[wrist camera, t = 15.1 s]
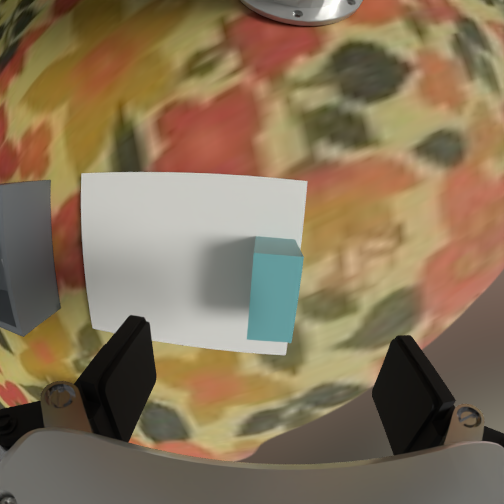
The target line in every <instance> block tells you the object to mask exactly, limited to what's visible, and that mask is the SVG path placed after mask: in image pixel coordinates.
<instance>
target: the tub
mask: <svg viewBox="0 0 504 504" xmlns="http://www.w3.org/2000/svg"><path fill="white" fill-rule="evenodd" d="M50 183H51V180H40V181H26V182H14V183H4V184H0V327H1V328H4V329H6V330H8V331H11V332H13V333H16V334H18V335H21V336H23V337H24V336H25V335H26V334H28V333H29V332H30V331H31V330H33V329H34V328H35V327H37V326H38V325H39V324H40V323H42V322H43V321H44V320H46V319H47V318H48V317H50V316H51V315H52V314H54V313H55V312H56V311H58V310H59V309H60V308H61V307H60V301H59V295H58V289H57V282H56V274H55V266H54V257H53V246H52V232H51V208H50ZM1 259H3V264H2V261H1ZM3 266H4V267H3Z"/></svg>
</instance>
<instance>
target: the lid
mask: <svg viewBox="0 0 504 504" xmlns="http://www.w3.org/2000/svg"><path fill="white" fill-rule="evenodd" d="M306 191H307V181H300V180H290V179H280V178H268V177H256V176H242V175H226V174H206V173H177V172H109V173H82V175H81V226H82V246H83V259H84V270H85V280H86V288H87V296H88V303H89V310H90V316H91V322H92V327H93V329H98V330H102V331H107V332H111V333H115V332H116V331H117V330H118V329H119V327H120V326H121V325H122V324H123V323H124V321H125V320H126V319H127V318H128V316H130V315H134V316H140V317H144V318H145V319H146V321H148V322H149V323H150V329H151V338H152V340H153V341H159V342H165V343H172V344H178V345H185V346H192V347H200V348H208V349H217V350H226V351H236V352H247V353H259V354H274V355H286V349H287V343H288V342H289V343H291V341H292V335H293V329H294V323H295V316H296V309H297V303H298V296H299V289H300V281H301V274H302V266H303V258H304V257H303V255H302V253H301V251H300V248H301V240H302V231H303V222H304V212H305V202H306Z"/></svg>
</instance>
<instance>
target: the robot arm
mask: <svg viewBox="0 0 504 504" xmlns="http://www.w3.org/2000/svg"><path fill="white" fill-rule="evenodd" d="M240 1H241V2H242V3H243V4H244V5H246V6H247V7H248V8H249V9H251V10H253V11H254V12H256V13H258V14H260V15H262V16H264V17H267V18H270V19H272V20H275V21H279V22H283V23H287V24H294V25H302V26H318V25H328V24H332V23H336V22H339V21H341V20H344V19H346V18H348V17H349V16H351V15H352V14H353V13H355V11H356V10H357V9H358V8H359V6H360V5H361V3H362V1H363V0H240ZM155 382H156V369H155V362H154V354H153V347H152V338H151V329H150V323H149V322H148V321H146V319H145V318H144V317H140V316H134V315H130V316H128V318H127V319H126V320H125V321H124V323H123V324H122V325H121V326H120V327H119V329H118V330H117V331H116V332H115V334H114V335H113V336H112V337H111V339H110V340H109V341H108V342H107V344H105V345H104V346H103V347H102V348H101V350H100V351H99V352H98V353H97V355H96V356H95V357H94V359H93V360H92V361H91V362H90V364H89V365H88V366H87V368H86V369H85V370H84V371H83V373H82V374H81V375H80V377H79V378H78V379H77V381H76V382H75V383H74V384H72V383H70V382H66V381H57V382H53V383H51V384H49V385H47V386H46V387H45V388H44V389H43V391H42V393H41V398H40V400H41V401H37V402H32V403H28V404H23V405H19V406H14V407H9V408H4V409H0V504H504V434H503V433H501V432H498V431H496V430H493V429H491V428H488V427H486V426H484V423H485V421H484V416H483V413H482V412H481V411H480V410H479V409H478V408H476V407H475V406H473V405H469V404H461V405H458V406H457V407H456V408H455V406H454V405H453V404H454V402H455V399H454V397H453V396H452V394H451V392H450V391H449V389H448V388H447V386H446V385H445V383H444V382H443V380H442V379H441V377H440V376H439V374H438V373H437V371H436V370H435V368H434V367H433V366H432V364H431V363H430V361H429V360H428V359H427V357H426V356H425V355H424V353H423V351H422V350H421V349H420V347H419V346H418V345H417V343H416V342H415V340H414V339H413V338H412V337H411V336H410V335H404V336H396V338H395V339H393V340H392V341H391V343H390V346H389V349H388V352H387V354H386V357H385V360H384V362H383V365H382V367H381V370H380V372H379V375H378V377H377V380H376V382H375V385H374V387H373V390H372V397H373V400H374V402H375V405H376V408H377V410H378V413H379V416H380V418H381V421H382V424H383V426H384V429H385V432H386V435H387V437H388V440H389V443H390V445H391V448H392V451H393V454H394V456H389V457H382V458H376V459H369V460H361V461H351V462H340V463H327V464H298V465H297V464H296V465H287V464H283V465H282V464H256V463H242V462H231V461H222V460H213V459H206V458H199V457H193V456H187V455H181V454H176V453H171V452H166V451H162V450H157V449H152V448H148V447H144V446H139V445H136V444H132V443H128V442H129V440H130V438H131V435H132V433H133V431H134V429H135V426H136V424H137V422H138V420H139V417H140V415H141V413H142V411H143V409H144V406H145V404H146V402H147V400H148V398H149V395H150V393H151V391H152V389H153V387H154V385H155Z"/></svg>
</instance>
